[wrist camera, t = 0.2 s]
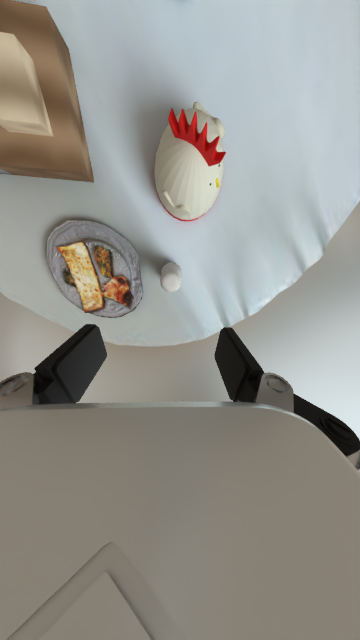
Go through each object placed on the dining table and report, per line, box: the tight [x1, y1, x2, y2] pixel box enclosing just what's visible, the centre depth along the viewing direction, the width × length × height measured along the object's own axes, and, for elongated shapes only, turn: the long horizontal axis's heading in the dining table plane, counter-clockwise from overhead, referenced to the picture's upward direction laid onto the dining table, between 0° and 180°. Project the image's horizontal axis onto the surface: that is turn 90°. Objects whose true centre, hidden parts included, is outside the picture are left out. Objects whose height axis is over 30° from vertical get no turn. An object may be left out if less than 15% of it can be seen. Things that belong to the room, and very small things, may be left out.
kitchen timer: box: [154, 102, 226, 221], centre depth 21 cm, size 14×14×15 cm
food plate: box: [46, 220, 143, 318], centre depth 35 cm, size 25×23×4 cm
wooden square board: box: [0, 0, 94, 182], centre depth 21 cm, size 15×16×4 cm
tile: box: [0, 32, 53, 136], centre depth 19 cm, size 7×7×2 cm
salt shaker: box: [160, 262, 182, 292], centre depth 31 cm, size 6×6×13 cm
